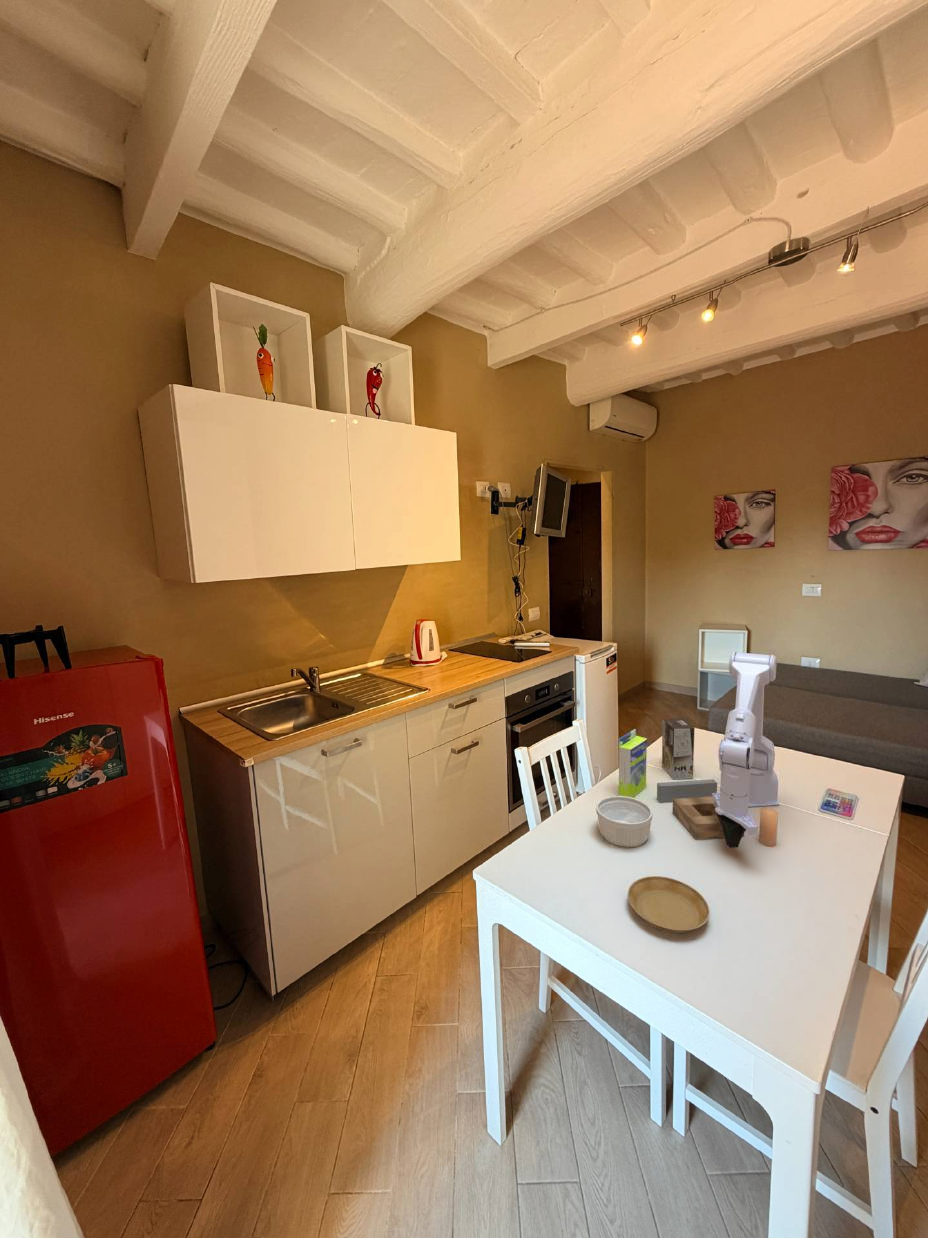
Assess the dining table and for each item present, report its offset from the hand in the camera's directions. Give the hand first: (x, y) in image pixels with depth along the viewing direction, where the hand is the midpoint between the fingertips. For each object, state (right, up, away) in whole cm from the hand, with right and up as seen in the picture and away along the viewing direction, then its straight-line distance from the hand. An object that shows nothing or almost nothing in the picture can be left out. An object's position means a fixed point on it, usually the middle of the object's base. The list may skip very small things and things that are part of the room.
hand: (732, 845), depth 114 cm
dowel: (+10, -1, +3) cm, 10 cm away
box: (-13, +2, +29) cm, 32 cm away
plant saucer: (-22, -5, -17) cm, 28 cm away
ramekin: (-22, -1, +9) cm, 24 cm away
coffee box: (+4, +4, +39) cm, 40 cm away
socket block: (0, 0, +11) cm, 11 cm away
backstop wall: (0, +2, +23) cm, 23 cm away
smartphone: (+38, +2, +18) cm, 42 cm away
